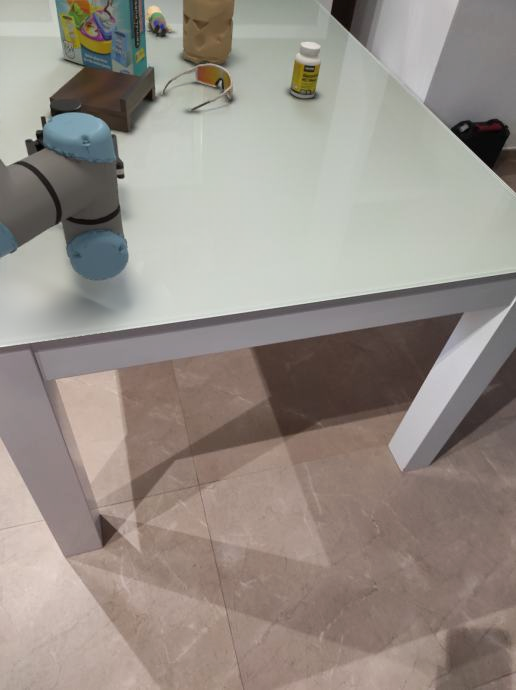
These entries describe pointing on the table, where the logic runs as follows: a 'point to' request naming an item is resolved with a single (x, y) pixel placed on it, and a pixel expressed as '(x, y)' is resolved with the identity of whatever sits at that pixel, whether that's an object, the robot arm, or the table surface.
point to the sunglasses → (209, 80)
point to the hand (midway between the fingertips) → (67, 123)
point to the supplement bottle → (65, 106)
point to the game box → (104, 34)
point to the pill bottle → (306, 70)
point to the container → (207, 30)
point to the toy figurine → (157, 20)
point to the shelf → (109, 94)
